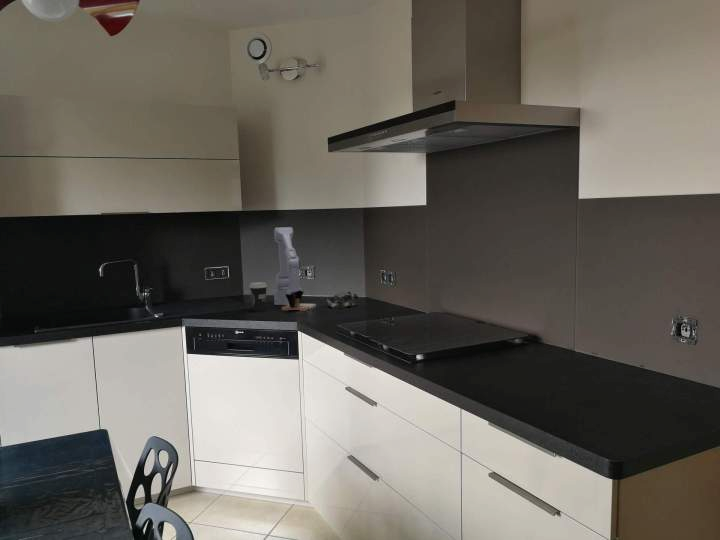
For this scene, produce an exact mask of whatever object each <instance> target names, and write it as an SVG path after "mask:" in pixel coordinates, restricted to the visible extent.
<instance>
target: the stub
mask: <svg viewBox="0 0 720 540" xmlns="http://www.w3.org/2000/svg"><path fill="white" fill-rule="evenodd" d="M300 303H301V302H299V299H295V305H294V307H290V306H287V305H283V306H282V307H281V311H288V310H300V311H299V312H307V311H309V310H308V309H309V307H304V306H300ZM306 310H307V311H306Z"/></svg>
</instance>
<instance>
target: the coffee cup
mask: <svg viewBox="0 0 720 540" xmlns="http://www.w3.org/2000/svg"><path fill="white" fill-rule="evenodd" d="M267 287H268V285H267V283H266V282H265V281H259V282H258V281H256V282H250V285H249V287H248V288H250V289H249V291H250V297H251V305H252V312H254V311H256V312H255V313H257V312H258V313H260V312H261V311H262V312H265V311H266V309H267V308H266V305H267Z"/></svg>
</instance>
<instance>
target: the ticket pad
mask: <svg viewBox="0 0 720 540" xmlns="http://www.w3.org/2000/svg"><path fill="white" fill-rule="evenodd" d="M286 306H290V305H286ZM300 306H304V307H309V309H310V310H312V309H314V308H316V307H317V304H316V303H301V302H300ZM315 306H316V307H315ZM313 307H314V308H313ZM311 308H312V309H311Z"/></svg>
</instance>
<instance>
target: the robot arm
mask: <svg viewBox="0 0 720 540" xmlns="http://www.w3.org/2000/svg"><path fill="white" fill-rule="evenodd" d="M273 236H274V242H275V243H277V245H278V259H279V272H278V273H277V274H275V278H274V283H275V289H274V292H273V297H274V298H273V299H274V300H273V302H274V304H273V305H278V306H279V305H280V306H287V305H290V307H294V305H295V299H299V302H300V303H301V301H302V297H303V294H304V291H303V288H302V286H301V285H300V268H301V259H300V257H299V256H297V252H296V249H295V248H294V246H293V243H292V239H293V237H294V229H293V227H292V226H288V227H287V226H286V227H284V226H283V227H275V228H274V230H273Z"/></svg>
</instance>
